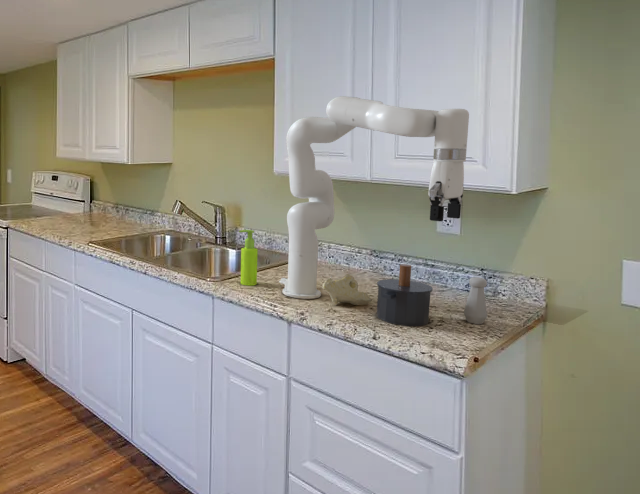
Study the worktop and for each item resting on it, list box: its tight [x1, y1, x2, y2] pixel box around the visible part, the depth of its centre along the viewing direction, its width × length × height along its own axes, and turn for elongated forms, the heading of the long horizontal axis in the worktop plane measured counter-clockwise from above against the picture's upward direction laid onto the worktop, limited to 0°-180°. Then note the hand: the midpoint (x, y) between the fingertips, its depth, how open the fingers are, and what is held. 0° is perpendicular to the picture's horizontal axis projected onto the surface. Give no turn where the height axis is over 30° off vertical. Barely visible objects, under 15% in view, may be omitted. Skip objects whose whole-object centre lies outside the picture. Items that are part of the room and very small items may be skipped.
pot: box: [376, 286, 432, 327], centre depth 162 cm, size 14×19×10 cm
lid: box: [376, 263, 434, 294], centre depth 161 cm, size 15×15×7 cm
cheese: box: [321, 273, 372, 306], centre depth 177 cm, size 15×7×15 cm
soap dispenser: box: [238, 229, 259, 287], centre depth 202 cm, size 6×7×20 cm
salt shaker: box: [463, 276, 488, 325], centre depth 159 cm, size 6×6×13 cm
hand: (445, 219), depth 149 cm, fingers open, 9 cm apart
